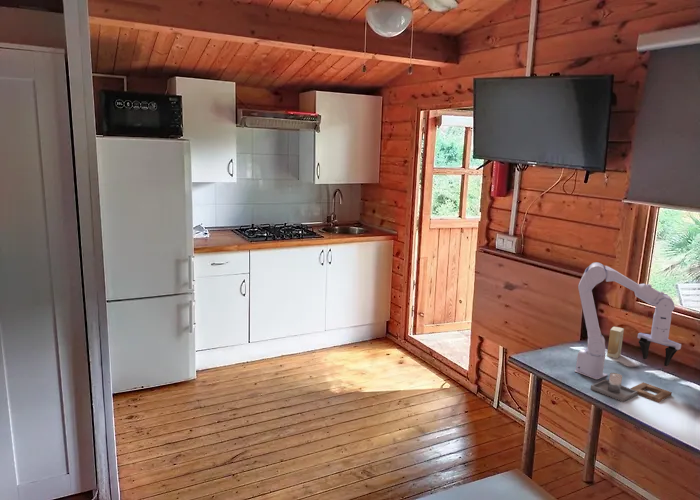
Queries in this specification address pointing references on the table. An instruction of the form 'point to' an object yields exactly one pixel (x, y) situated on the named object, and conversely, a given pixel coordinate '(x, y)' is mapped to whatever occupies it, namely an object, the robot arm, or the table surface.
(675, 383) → the table surface
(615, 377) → the steel pin
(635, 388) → the socket block
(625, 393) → the tray
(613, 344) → the skincare box
